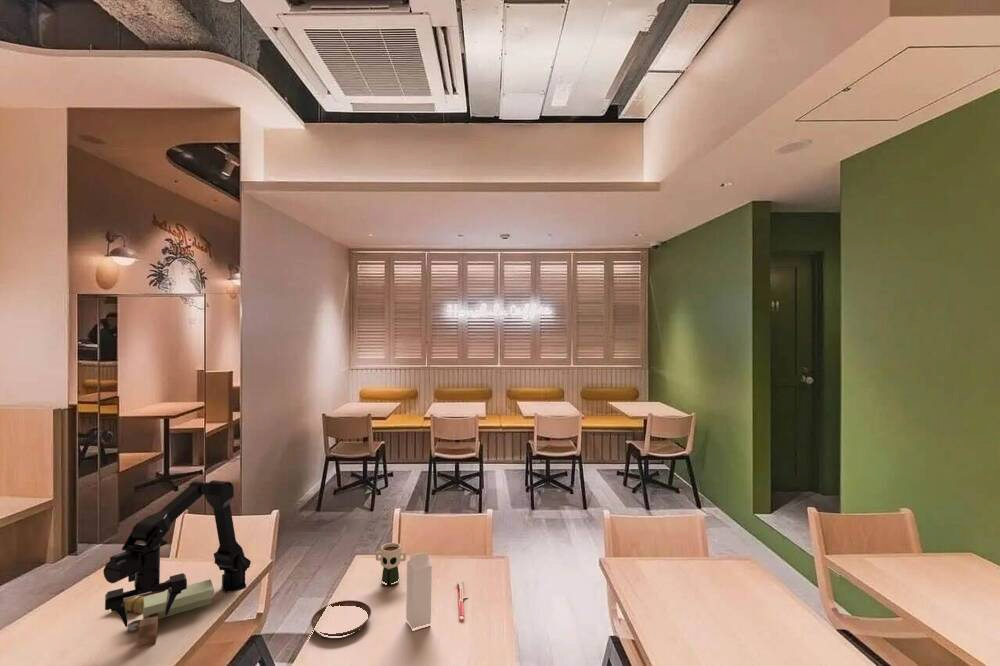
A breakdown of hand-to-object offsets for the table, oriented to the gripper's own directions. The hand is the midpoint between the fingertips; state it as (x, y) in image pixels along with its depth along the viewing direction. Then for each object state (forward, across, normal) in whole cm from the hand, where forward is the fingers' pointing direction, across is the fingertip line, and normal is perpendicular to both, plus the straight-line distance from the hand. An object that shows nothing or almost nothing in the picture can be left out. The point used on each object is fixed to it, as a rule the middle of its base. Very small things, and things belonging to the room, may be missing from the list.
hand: (146, 620), depth 138 cm
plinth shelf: (+7, -9, -11) cm, 15 cm away
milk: (+7, -67, +38) cm, 77 cm away
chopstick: (+7, -85, +35) cm, 92 cm away
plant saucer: (+7, -48, +24) cm, 54 cm away
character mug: (+7, -71, +10) cm, 72 cm away
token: (+7, +2, -10) cm, 13 cm away
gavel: (+7, -3, -29) cm, 30 cm away
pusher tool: (+7, -1, -5) cm, 9 cm away
